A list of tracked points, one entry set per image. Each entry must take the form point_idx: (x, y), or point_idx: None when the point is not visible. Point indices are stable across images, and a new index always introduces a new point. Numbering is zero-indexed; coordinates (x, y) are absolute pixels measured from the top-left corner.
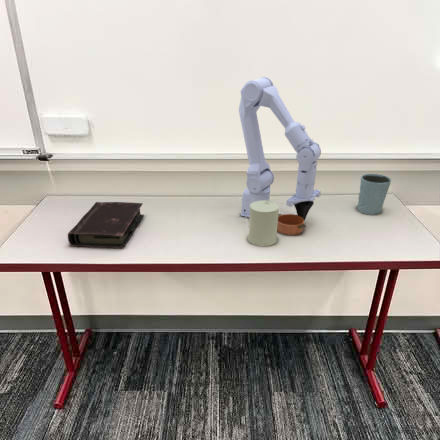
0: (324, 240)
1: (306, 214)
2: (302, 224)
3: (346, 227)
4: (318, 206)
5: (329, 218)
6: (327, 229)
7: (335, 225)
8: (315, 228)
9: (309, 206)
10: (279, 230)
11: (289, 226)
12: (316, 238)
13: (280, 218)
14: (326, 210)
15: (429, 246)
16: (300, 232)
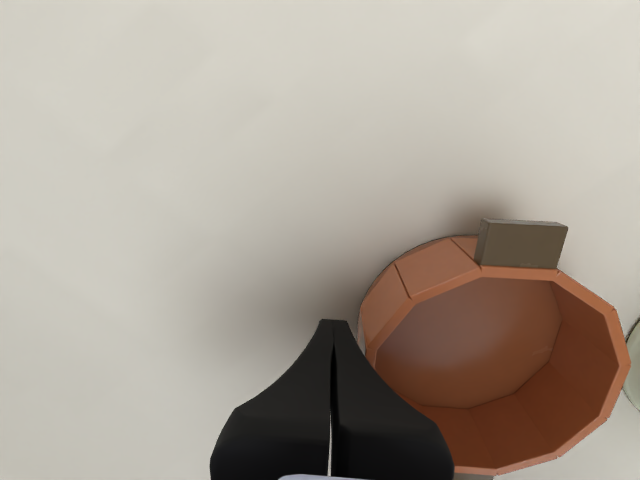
0: (435, 3)
1: (320, 349)
2: (504, 255)
3: (67, 43)
4: (22, 404)
5: (79, 250)
6: (236, 136)
7: (125, 139)
8: (299, 214)
9: (314, 406)
10: (568, 350)
11: (613, 312)
12: (450, 86)
13: (464, 445)
14: (11, 340)
15: None
16: (467, 237)
